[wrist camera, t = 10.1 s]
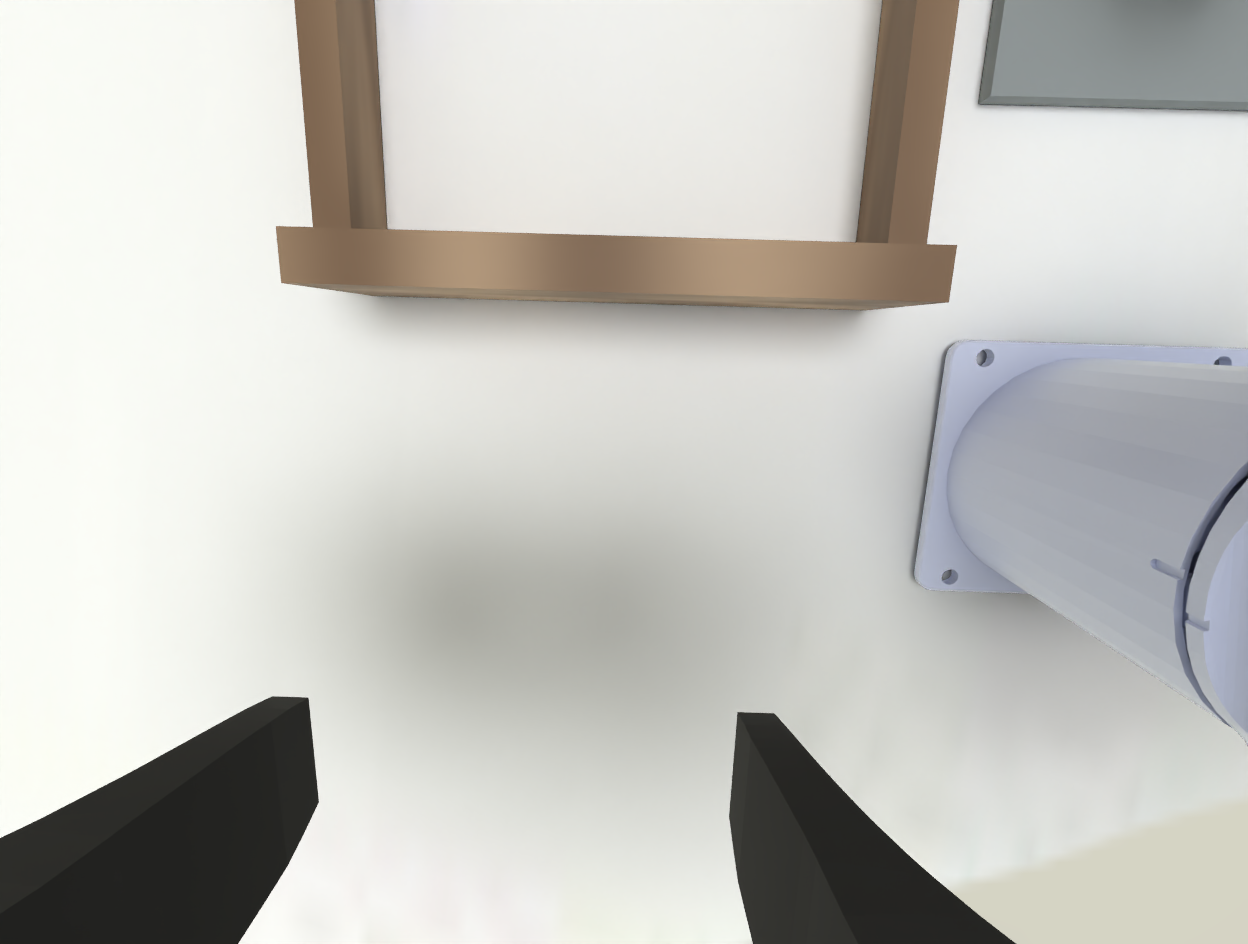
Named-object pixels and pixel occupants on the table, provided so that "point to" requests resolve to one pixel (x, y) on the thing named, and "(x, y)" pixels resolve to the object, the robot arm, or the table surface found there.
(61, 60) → the table surface
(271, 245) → the table surface
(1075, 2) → the slate mat
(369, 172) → the walnut rack
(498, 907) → the table surface
